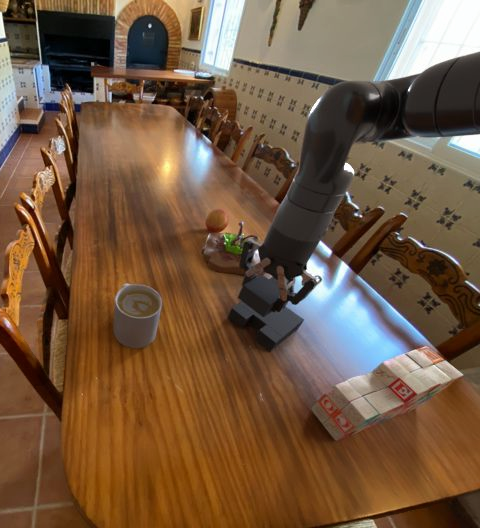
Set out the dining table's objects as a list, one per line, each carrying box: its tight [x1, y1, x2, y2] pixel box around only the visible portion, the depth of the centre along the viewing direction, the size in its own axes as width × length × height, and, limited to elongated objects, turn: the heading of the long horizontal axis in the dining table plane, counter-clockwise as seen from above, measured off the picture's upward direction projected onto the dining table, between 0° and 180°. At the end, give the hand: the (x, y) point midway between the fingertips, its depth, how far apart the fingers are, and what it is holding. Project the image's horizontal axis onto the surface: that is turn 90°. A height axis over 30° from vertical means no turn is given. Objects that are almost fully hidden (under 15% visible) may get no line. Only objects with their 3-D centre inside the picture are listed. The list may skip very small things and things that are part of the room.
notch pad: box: [227, 301, 305, 353], centre depth 72 cm, size 12×12×4 cm
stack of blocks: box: [310, 345, 464, 442], centre depth 54 cm, size 21×6×12 cm, turn 109°
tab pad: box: [237, 274, 280, 318], centre depth 58 cm, size 6×8×4 cm
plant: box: [200, 221, 267, 277], centre depth 90 cm, size 20×20×11 cm
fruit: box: [205, 208, 230, 233], centre depth 102 cm, size 8×8×8 cm
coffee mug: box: [112, 283, 163, 349], centre depth 67 cm, size 13×10×10 cm
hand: (260, 299), depth 58 cm, fingers closed on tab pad, 6 cm apart
